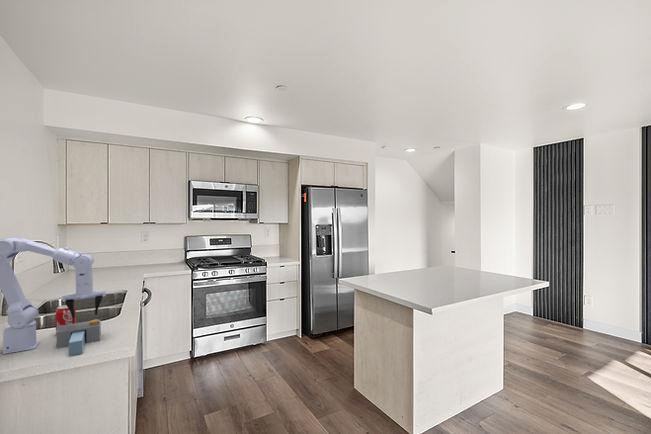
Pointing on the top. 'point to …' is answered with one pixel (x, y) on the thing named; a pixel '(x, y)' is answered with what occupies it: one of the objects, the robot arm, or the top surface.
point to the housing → (66, 330)
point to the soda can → (64, 316)
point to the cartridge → (77, 343)
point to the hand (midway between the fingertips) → (85, 315)
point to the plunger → (94, 322)
